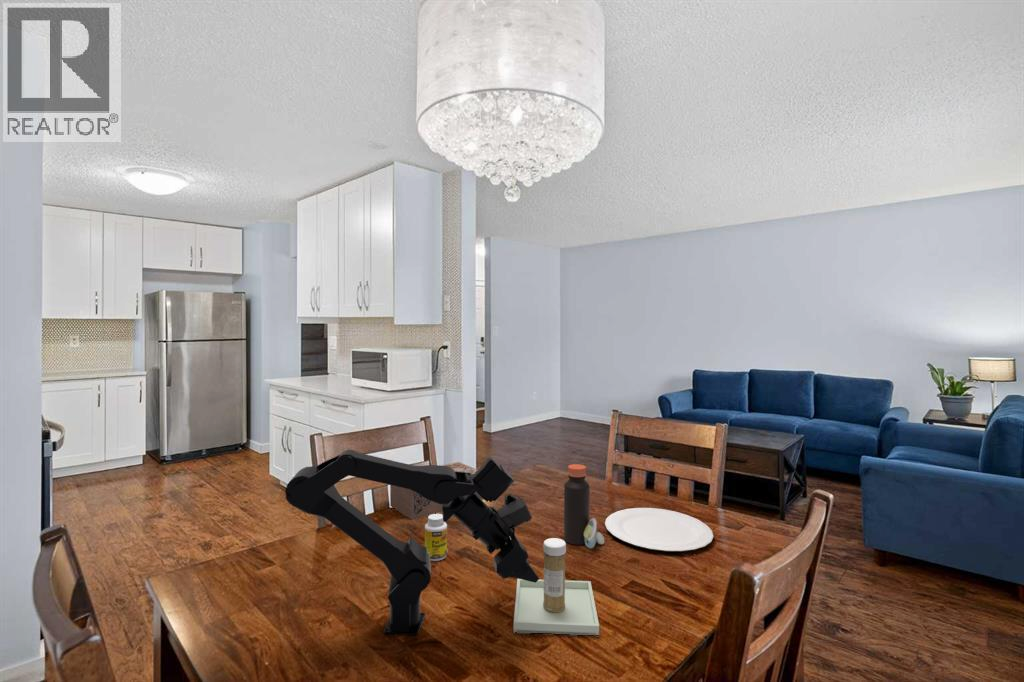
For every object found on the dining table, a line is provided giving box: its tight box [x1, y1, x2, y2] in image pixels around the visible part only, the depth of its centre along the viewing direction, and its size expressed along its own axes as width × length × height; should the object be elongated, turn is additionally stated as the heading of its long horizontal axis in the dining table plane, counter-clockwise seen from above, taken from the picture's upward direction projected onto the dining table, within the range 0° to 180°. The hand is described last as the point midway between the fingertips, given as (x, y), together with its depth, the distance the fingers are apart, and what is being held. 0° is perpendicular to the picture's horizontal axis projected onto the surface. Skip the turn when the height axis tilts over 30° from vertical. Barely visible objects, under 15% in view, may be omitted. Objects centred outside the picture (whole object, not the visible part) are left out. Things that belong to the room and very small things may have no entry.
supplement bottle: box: [424, 513, 448, 562], centre depth 122 cm, size 6×6×10 cm
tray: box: [513, 578, 600, 636], centre depth 100 cm, size 16×16×2 cm
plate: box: [604, 507, 715, 553], centre depth 138 cm, size 29×29×2 cm
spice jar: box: [542, 537, 567, 612], centre depth 100 cm, size 5×5×13 cm
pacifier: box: [584, 517, 605, 549], centre depth 129 cm, size 7×6×6 cm
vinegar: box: [563, 463, 591, 546], centre depth 132 cm, size 7×7×20 cm
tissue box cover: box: [389, 461, 483, 521], centre depth 159 cm, size 26×14×10 cm, turn 129°
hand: (532, 568), depth 99 cm, fingers open, 9 cm apart
